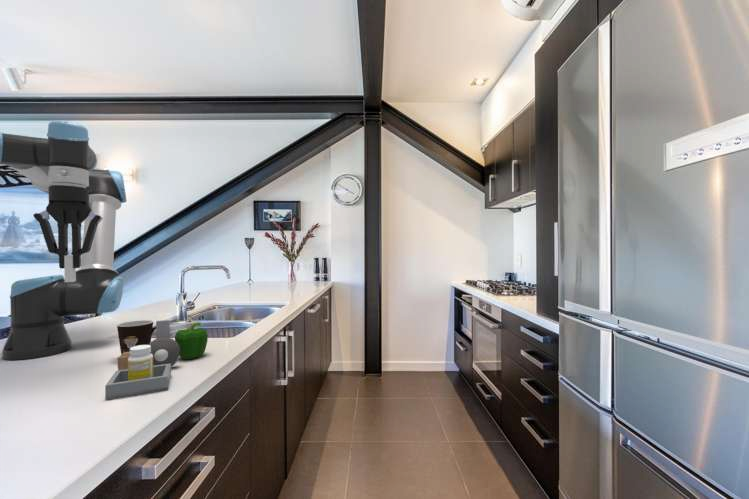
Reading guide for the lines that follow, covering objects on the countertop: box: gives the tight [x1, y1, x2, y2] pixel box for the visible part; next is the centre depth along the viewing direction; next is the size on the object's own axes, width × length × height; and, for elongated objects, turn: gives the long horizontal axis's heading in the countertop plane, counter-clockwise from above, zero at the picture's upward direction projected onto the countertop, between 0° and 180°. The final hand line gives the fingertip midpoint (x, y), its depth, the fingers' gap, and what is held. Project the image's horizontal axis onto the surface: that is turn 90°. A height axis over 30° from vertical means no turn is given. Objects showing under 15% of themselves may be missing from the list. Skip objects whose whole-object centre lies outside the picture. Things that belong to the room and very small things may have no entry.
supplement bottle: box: [128, 345, 153, 381], centre depth 78 cm, size 5×5×8 cm
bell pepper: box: [174, 321, 209, 360], centre depth 100 cm, size 8×8×10 cm
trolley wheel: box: [148, 319, 180, 368], centre depth 91 cm, size 6×8×12 cm
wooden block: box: [117, 352, 131, 371], centre depth 87 cm, size 5×4×5 cm
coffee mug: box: [116, 319, 156, 356], centre depth 99 cm, size 12×9×10 cm
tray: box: [104, 363, 172, 401], centre depth 78 cm, size 10×11×3 cm
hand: (70, 281), depth 86 cm, fingers closed
